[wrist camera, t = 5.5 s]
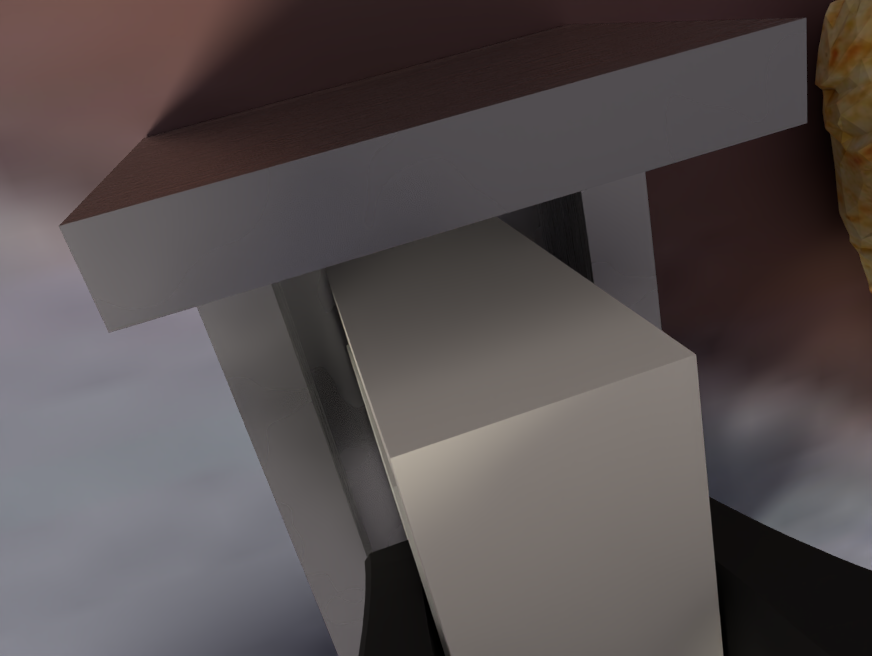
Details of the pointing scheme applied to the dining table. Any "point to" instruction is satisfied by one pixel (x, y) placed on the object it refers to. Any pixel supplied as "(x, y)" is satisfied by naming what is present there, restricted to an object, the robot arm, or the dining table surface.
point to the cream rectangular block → (534, 449)
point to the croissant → (850, 115)
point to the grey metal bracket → (410, 224)
